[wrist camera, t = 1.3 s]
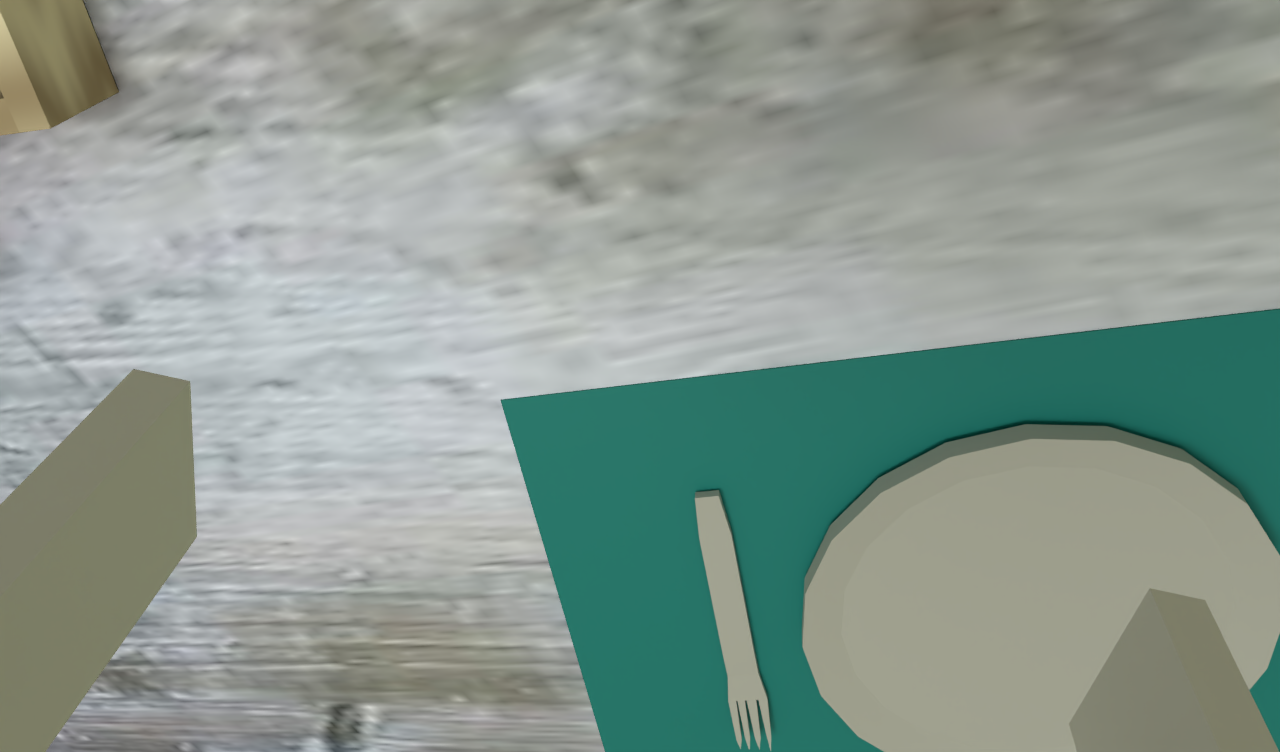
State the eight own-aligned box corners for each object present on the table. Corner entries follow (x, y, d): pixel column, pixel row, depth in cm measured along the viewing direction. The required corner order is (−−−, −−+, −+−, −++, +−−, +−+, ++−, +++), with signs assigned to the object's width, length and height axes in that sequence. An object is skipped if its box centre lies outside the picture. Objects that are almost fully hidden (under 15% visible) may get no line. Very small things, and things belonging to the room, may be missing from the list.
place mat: (613, 833, 61) (608, 869, 59) (469, 367, 46) (456, 394, 44) (1512, 797, 53) (1541, 838, 51) (1680, 218, 38) (1730, 243, 36)
